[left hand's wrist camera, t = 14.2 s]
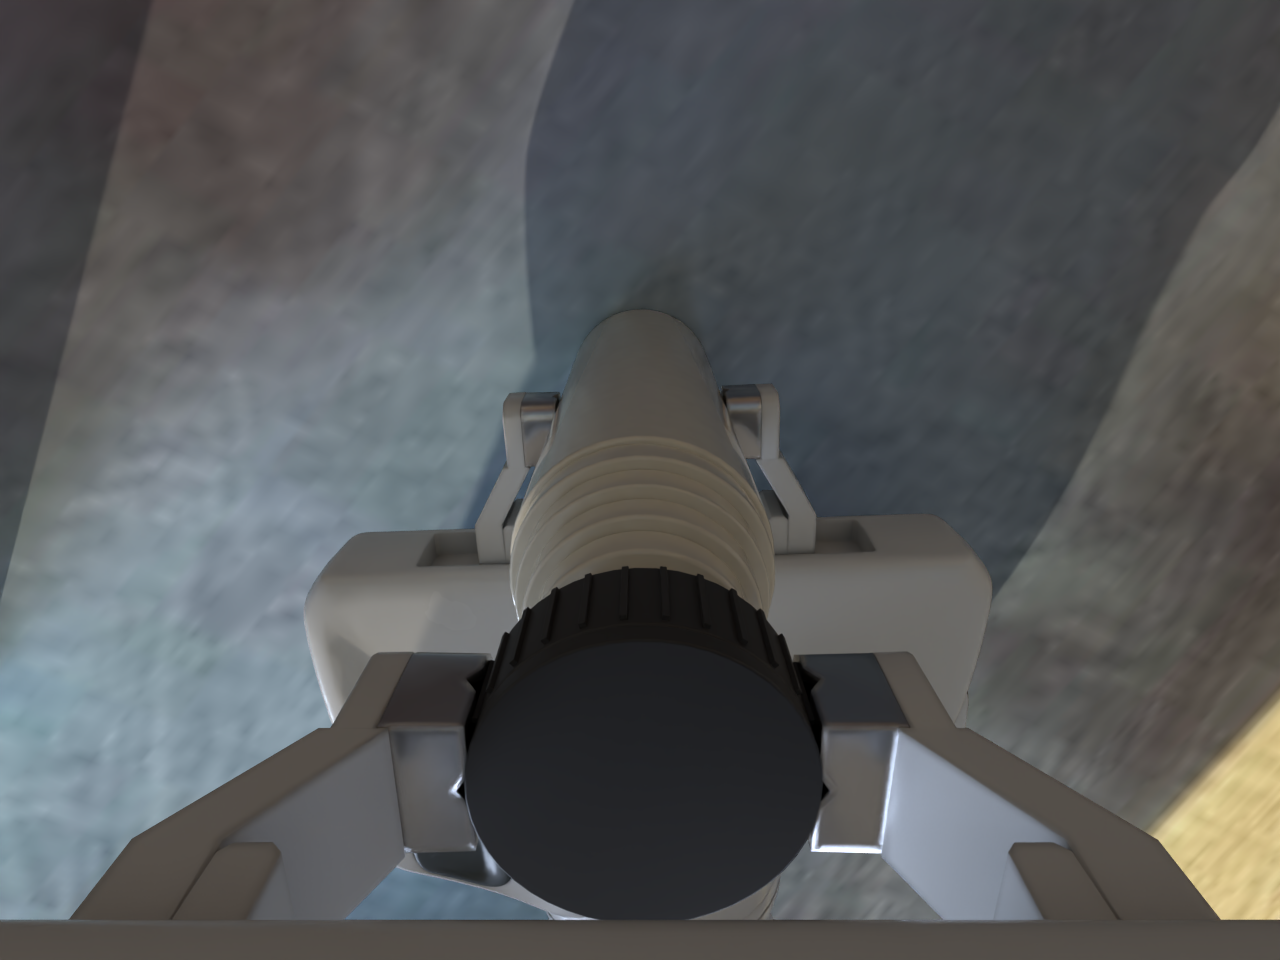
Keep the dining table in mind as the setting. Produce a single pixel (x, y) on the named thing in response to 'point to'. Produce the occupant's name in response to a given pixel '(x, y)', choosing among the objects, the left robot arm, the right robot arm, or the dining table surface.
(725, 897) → the cap
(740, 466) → the bottle
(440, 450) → the dining table surface
